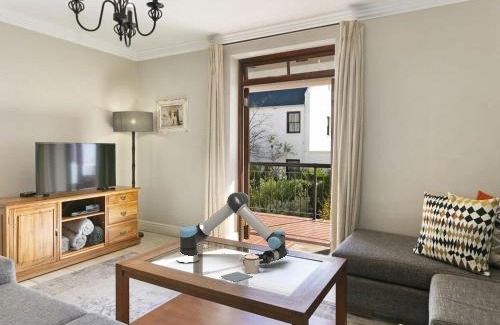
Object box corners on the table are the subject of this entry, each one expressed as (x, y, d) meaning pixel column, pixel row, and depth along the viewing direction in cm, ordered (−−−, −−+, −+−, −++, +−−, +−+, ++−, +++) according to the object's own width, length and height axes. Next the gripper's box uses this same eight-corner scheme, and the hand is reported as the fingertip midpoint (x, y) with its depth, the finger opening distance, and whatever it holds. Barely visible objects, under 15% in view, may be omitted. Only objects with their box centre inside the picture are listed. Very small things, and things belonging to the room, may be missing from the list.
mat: (218, 277, 179) (218, 276, 179) (237, 272, 189) (237, 271, 189) (234, 282, 169) (234, 281, 169) (253, 277, 179) (253, 276, 179)
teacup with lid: (262, 271, 190) (262, 252, 191) (252, 274, 184) (252, 254, 185) (247, 268, 198) (247, 249, 199) (237, 271, 192) (237, 252, 193)
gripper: (285, 265, 195) (262, 271, 181) (257, 258, 213) (233, 264, 198) (285, 253, 196) (262, 258, 181) (257, 247, 214) (233, 252, 199)
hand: (247, 261), depth 190 cm, fingers open, 13 cm apart
